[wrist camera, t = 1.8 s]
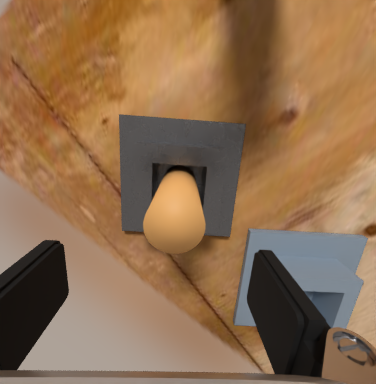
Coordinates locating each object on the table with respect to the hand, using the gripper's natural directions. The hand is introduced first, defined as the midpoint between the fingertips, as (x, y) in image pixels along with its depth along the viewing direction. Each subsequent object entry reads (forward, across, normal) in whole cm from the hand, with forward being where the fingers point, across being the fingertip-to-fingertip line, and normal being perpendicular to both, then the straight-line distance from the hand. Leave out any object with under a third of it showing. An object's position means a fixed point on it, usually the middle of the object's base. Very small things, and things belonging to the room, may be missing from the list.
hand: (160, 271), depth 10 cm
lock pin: (+19, -1, 0) cm, 19 cm away
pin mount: (+20, -1, 0) cm, 20 cm away
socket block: (+19, -21, +16) cm, 32 cm away
